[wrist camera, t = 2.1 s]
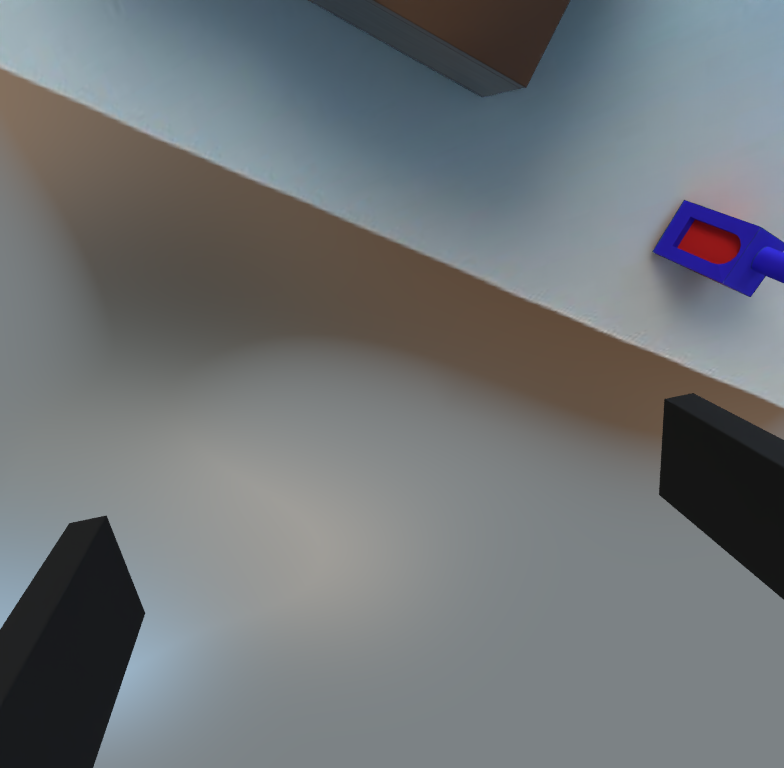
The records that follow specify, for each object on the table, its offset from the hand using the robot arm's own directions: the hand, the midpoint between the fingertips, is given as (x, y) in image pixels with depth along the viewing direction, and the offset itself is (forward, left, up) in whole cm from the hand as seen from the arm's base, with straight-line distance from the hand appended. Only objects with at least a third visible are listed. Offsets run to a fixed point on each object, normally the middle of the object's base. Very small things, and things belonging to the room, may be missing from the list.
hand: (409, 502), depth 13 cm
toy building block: (-10, +19, -26) cm, 33 cm away
